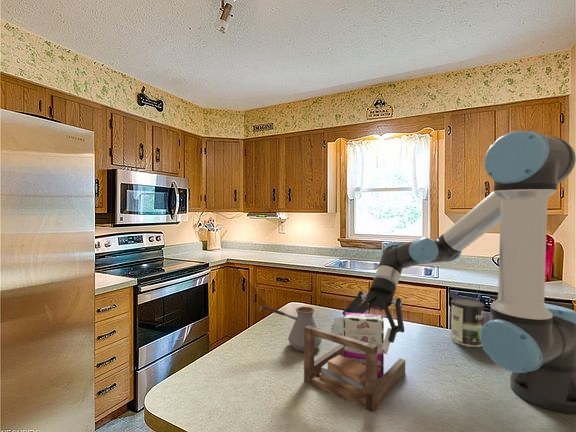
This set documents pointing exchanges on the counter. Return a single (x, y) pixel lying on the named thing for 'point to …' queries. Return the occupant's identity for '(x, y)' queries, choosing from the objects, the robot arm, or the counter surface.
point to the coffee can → (467, 322)
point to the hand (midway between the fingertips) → (363, 345)
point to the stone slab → (338, 326)
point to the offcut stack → (345, 374)
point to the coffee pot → (299, 326)
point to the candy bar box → (365, 336)
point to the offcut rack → (312, 369)
